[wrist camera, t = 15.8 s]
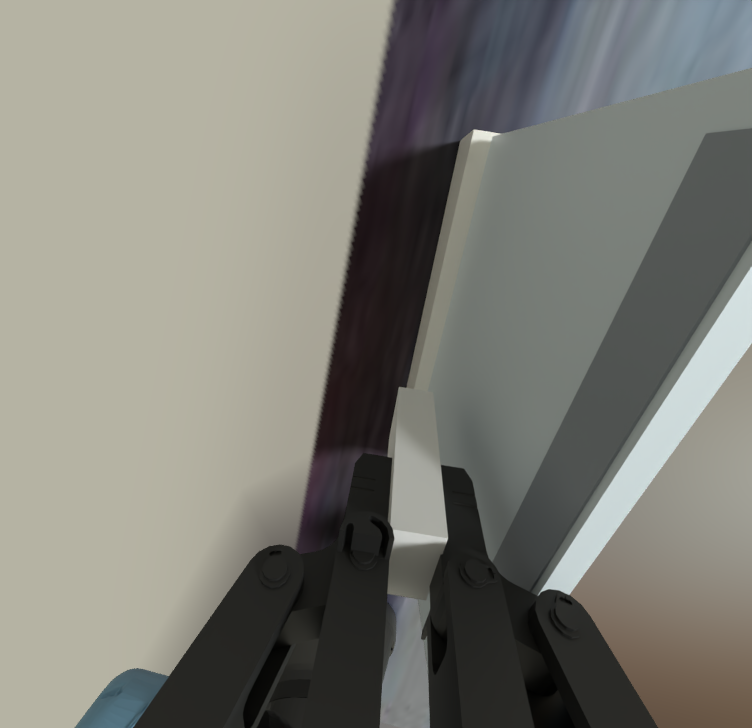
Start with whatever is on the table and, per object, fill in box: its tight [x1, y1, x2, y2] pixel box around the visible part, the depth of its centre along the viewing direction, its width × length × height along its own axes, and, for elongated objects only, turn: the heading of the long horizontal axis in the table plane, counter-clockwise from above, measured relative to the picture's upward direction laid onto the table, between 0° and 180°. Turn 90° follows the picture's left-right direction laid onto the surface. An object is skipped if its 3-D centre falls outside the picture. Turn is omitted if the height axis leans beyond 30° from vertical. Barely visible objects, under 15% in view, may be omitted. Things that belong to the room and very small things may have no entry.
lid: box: [418, 68, 752, 671], centre depth 14 cm, size 13×22×1 cm
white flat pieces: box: [406, 130, 500, 391], centre depth 23 cm, size 13×22×5 cm, turn 172°
